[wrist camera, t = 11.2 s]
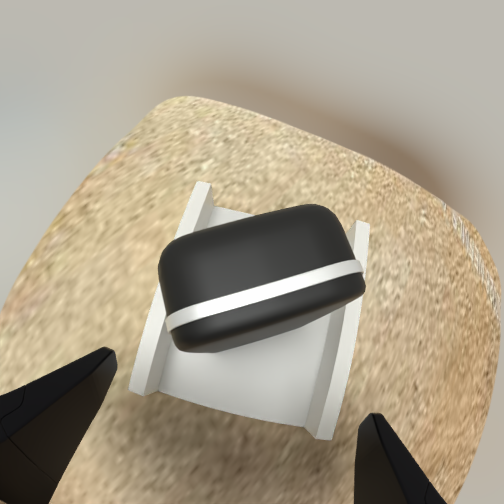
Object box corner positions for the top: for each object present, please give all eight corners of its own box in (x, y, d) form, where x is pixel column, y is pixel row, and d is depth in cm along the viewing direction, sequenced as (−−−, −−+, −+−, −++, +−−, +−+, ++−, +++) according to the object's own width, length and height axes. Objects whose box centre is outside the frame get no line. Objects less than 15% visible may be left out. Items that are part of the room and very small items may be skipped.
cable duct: (314, 425, 17) (331, 440, 13) (148, 384, 17) (127, 390, 14) (350, 245, 22) (369, 223, 18) (203, 209, 22) (197, 180, 19)
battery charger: (289, 273, 20) (343, 176, 9) (307, 325, 18) (391, 281, 8) (191, 300, 19) (133, 227, 8) (206, 355, 18) (157, 354, 7)
